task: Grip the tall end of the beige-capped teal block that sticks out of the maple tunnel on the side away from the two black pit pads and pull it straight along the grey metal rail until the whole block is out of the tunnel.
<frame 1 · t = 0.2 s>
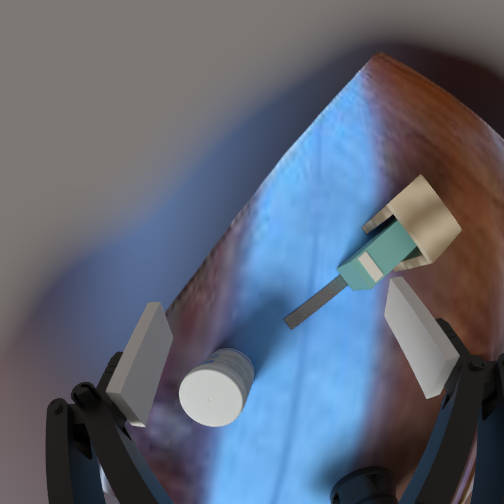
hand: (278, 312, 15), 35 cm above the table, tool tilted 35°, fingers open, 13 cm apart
rail: (355, 269, 49), on the table
tunnel: (392, 237, 49), on the table
beige-capped teal block: (391, 242, 43), point 6 cm above the table, slide at 0.0 cm
supplement tub: (229, 371, 49), on the table
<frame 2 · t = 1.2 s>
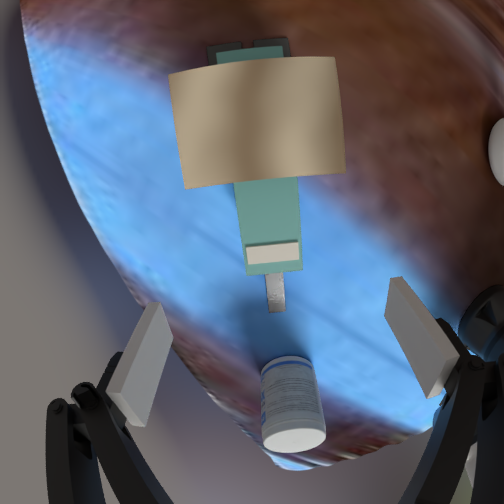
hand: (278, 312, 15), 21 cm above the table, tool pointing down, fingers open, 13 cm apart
rail: (267, 204, 34), on the table
tunnel: (257, 123, 30), on the table
beige-capped teal block: (262, 157, 26), point 6 cm above the table, slide at 0.0 cm
flower in vase: (499, 152, 29), on the table
supplement tub: (287, 370, 47), on the table
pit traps: (249, 56, 26), on the table
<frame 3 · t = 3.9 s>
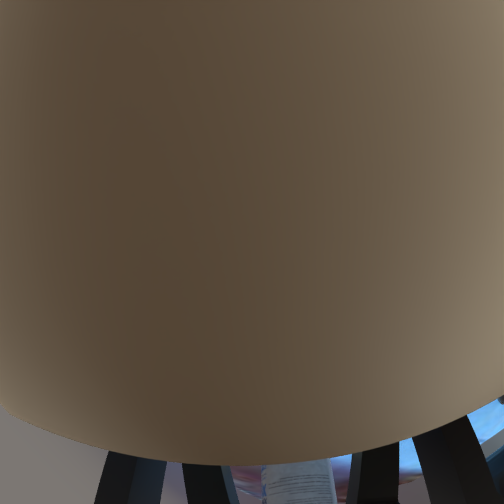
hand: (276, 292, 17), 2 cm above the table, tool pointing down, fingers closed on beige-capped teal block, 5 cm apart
tunnel: (256, 120, 15), on the table
supplement tub: (295, 451, 32), on the table
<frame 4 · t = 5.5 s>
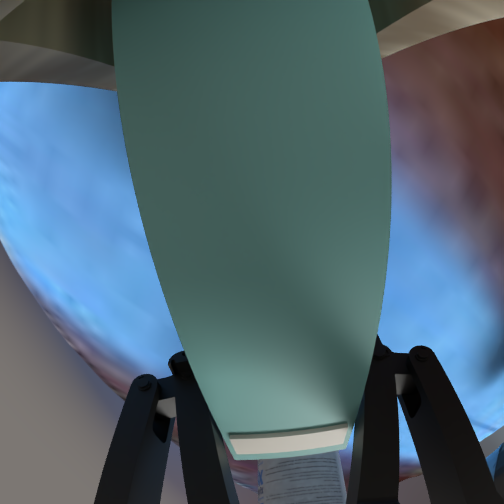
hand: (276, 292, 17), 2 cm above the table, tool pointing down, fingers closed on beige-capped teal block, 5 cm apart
tunnel: (241, 24, 12), on the table
beige-capped teal block: (266, 206, 11), point 6 cm above the table, slide at 6.3 cm, touching gripper
supplement tub: (296, 433, 29), on the table
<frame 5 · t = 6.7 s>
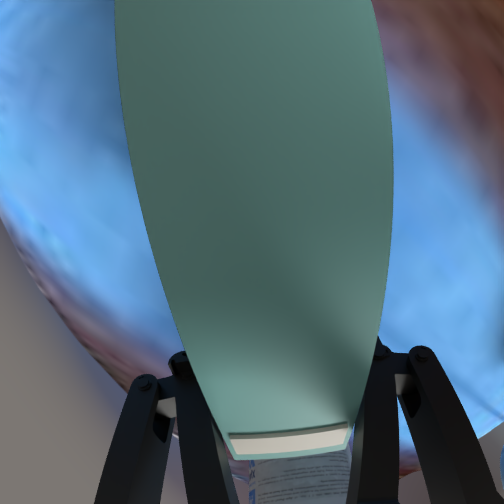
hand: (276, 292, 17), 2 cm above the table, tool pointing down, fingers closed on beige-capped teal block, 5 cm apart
beige-capped teal block: (267, 207, 11), point 6 cm above the table, slide at 12.8 cm, touching gripper
supplement tub: (295, 408, 26), on the table
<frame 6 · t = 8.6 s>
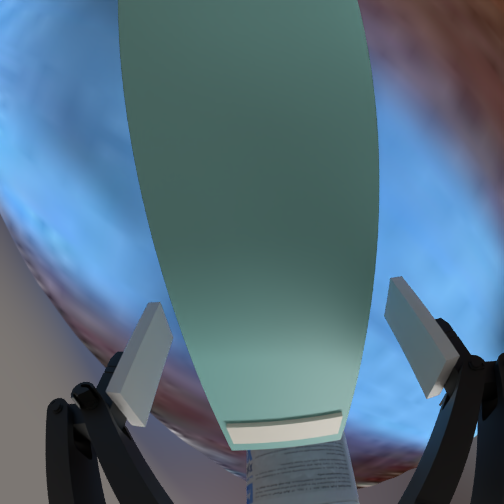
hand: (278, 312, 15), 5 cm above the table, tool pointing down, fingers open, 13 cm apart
beige-capped teal block: (262, 200, 11), point 6 cm above the table, slide at 13.0 cm
supplement tub: (292, 403, 27), on the table
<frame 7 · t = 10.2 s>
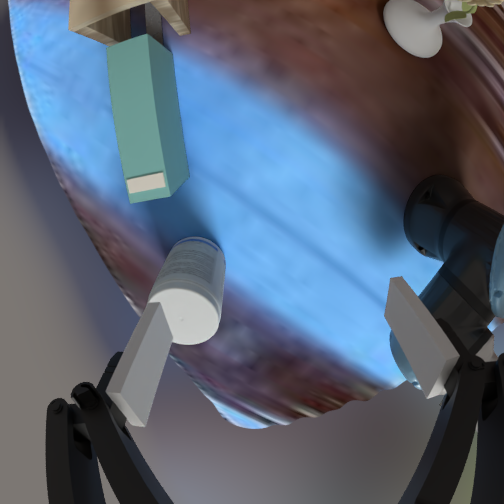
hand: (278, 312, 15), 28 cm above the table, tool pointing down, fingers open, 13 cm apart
rail: (158, 76, 33), on the table
tunnel: (153, 21, 28), on the table
beige-capped teal block: (150, 117, 30), point 6 cm above the table, slide at 13.0 cm
flower in vase: (405, 30, 28), on the table
supplement tub: (198, 260, 46), on the table
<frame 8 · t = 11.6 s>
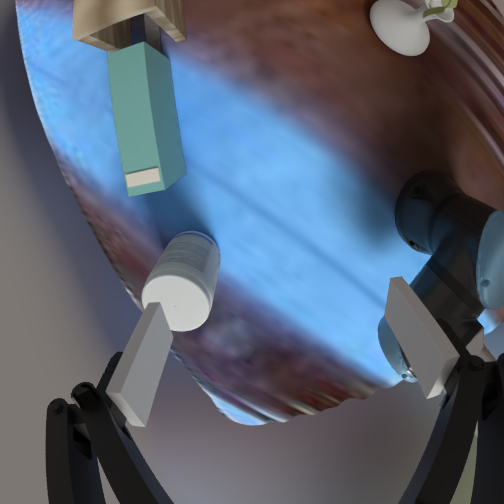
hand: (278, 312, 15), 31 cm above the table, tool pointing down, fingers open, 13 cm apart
rail: (157, 80, 35), on the table
tunnel: (152, 28, 31), on the table
beige-capped teal block: (148, 118, 33), point 6 cm above the table, slide at 13.0 cm
flower in vase: (392, 29, 30), on the table
supplement tub: (194, 254, 48), on the table
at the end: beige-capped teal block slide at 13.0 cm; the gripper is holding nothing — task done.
